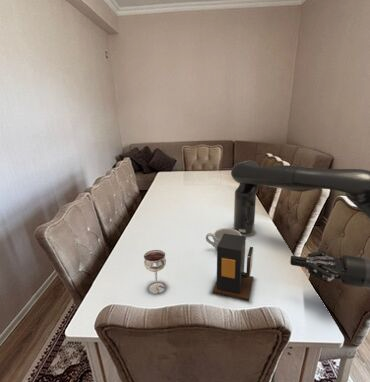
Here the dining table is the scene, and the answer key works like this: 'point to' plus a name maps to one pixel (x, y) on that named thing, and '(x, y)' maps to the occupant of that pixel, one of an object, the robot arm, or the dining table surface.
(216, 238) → the teacup
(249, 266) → the push plate
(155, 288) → the wineglass
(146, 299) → the dining table surface
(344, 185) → the robot arm
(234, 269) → the dispenser
